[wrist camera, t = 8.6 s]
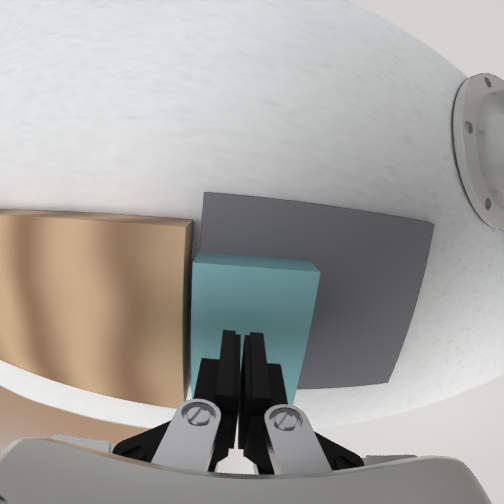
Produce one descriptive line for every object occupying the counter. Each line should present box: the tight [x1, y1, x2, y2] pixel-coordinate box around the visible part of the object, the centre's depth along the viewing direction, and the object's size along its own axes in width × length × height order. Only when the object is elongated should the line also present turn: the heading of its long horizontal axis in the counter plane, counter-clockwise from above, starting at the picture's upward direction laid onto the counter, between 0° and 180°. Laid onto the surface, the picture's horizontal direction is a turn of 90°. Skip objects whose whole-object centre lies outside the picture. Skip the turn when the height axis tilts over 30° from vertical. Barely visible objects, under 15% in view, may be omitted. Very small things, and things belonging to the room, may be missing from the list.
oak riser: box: [0, 209, 193, 409], centre depth 14 cm, size 18×11×2 cm, turn 84°
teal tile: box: [191, 252, 320, 405], centre depth 15 cm, size 6×9×2 cm, turn 174°
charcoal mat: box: [200, 192, 434, 389], centre depth 16 cm, size 14×12×1 cm
